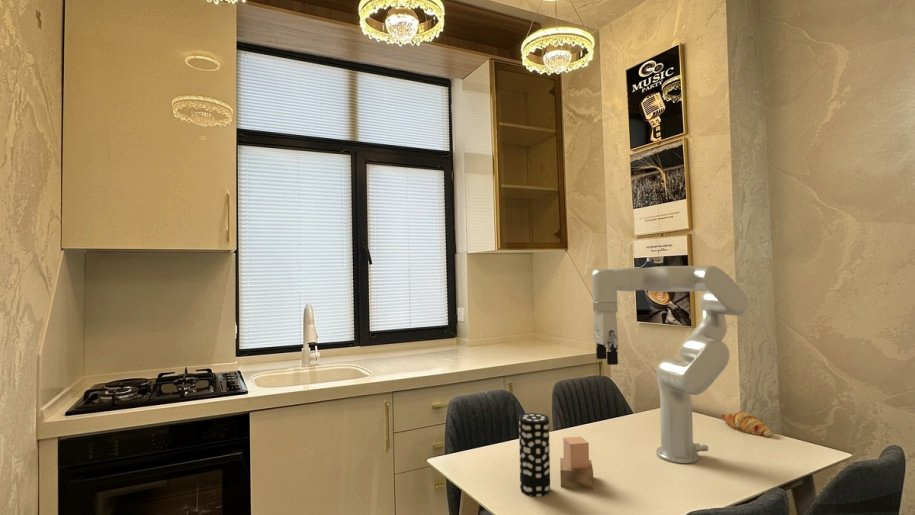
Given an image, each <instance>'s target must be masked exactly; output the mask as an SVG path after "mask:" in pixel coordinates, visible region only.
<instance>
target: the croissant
mask: <svg viewBox="0 0 915 515" xmlns="http://www.w3.org/2000/svg"><path fill="white" fill-rule="evenodd" d="M721 419H722V420H723V421H724V422H725V424H726V425H727V426H728V427H730V428H732V429H733V430H737V431H739V432H741V433H744V434H745V433H746V434H752V435H755V436H762V437H766V438H768V437H772V436H773V433H774V432H772V429H771V428H770V427H769V426H768V425H767V424H765V422H764V420H762V419H758V418H757V417H755V415H753V414H751V413H749V412H746V411H744V410H741V411H738V412H734V413H732V414H731V413H727V414H721Z"/></svg>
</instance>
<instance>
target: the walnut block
mask: <svg viewBox="0 0 915 515" xmlns="http://www.w3.org/2000/svg"><path fill="white" fill-rule="evenodd" d="M559 461H560V463H559V464H560V466H559V468H560V469H559V470H560V488H568V489H569V488H571V489H581V490H582V489H584V490H594V487H595V486H594V484H595V483H594V469H593V463H592V460H591V459H589V468H578V469H570V468H569V467H568V466H567V465H566V463H565V462H564V457H560V459H559Z"/></svg>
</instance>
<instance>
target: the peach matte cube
mask: <svg viewBox="0 0 915 515" xmlns="http://www.w3.org/2000/svg"><path fill="white" fill-rule="evenodd" d="M562 441H563V443H562V445H563V458H564V462H565V463H566V465H567V466H568V467H569V468H570V469H578V468H589V460H590V452H589V451H590V450H589V449H590V448H589V447H590V444H589V442H588V441H587V440H585V439H584V437H582V436H571V437H570V436H569V437H563V440H562Z"/></svg>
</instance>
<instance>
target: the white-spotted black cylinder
mask: <svg viewBox="0 0 915 515" xmlns="http://www.w3.org/2000/svg"><path fill="white" fill-rule="evenodd" d="M518 422H519V423H518V428H519V429H518V430H519V431H518V435H519V437H518V439H519V490H520V492H521V493H522V494H524V495H526V496H530V497H545V496H547V495H549V494H550V492H551V464H550V463H551V460H550V459H551V458H550V455H551V454H550V452H551V451H550V417H549V416H547V415H546V414H543V413H542V414H541V413H534V412H533V413H532V412H529V413H523V414H520V415H519V416H518Z"/></svg>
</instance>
